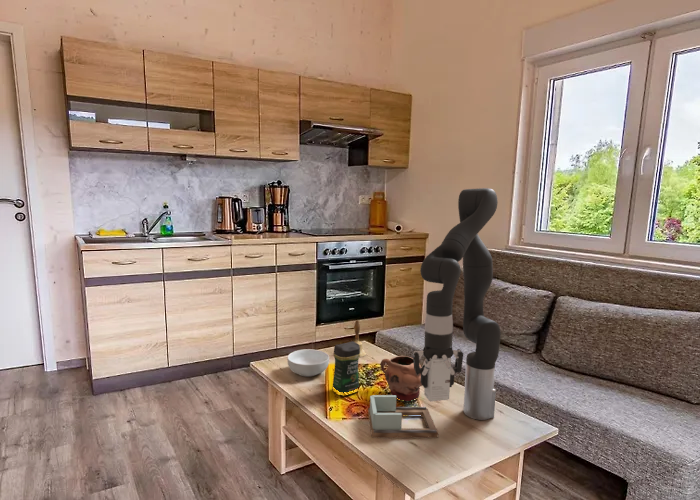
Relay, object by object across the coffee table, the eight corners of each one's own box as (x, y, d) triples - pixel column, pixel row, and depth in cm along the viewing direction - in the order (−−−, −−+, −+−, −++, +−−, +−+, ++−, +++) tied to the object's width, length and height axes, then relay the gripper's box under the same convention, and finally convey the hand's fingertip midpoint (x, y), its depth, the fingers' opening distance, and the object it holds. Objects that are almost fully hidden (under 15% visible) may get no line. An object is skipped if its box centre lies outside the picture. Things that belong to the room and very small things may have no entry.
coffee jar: (341, 399, 153) (342, 349, 150) (329, 390, 159) (329, 342, 157) (362, 392, 159) (364, 344, 156) (350, 384, 165) (351, 338, 163)
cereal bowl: (298, 385, 164) (298, 367, 163) (280, 370, 177) (280, 353, 176) (336, 375, 173) (336, 358, 172) (316, 361, 187) (316, 346, 186)
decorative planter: (369, 392, 158) (370, 356, 156) (387, 382, 168) (388, 348, 166) (416, 410, 146) (417, 371, 144) (433, 398, 155) (435, 361, 153)
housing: (395, 409, 143) (395, 395, 142) (401, 430, 130) (401, 414, 129) (369, 409, 142) (370, 395, 142) (373, 430, 130) (373, 414, 129)
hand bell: (346, 356, 193) (347, 322, 191) (349, 350, 201) (350, 317, 199) (364, 358, 192) (365, 323, 190) (367, 351, 200) (367, 318, 198)
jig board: (427, 412, 144) (427, 406, 144) (437, 437, 130) (438, 431, 129) (368, 412, 144) (368, 406, 143) (371, 437, 129) (372, 431, 129)
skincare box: (429, 402, 118) (431, 360, 116) (423, 394, 122) (424, 354, 121) (450, 399, 119) (451, 358, 118) (443, 392, 124) (444, 352, 122)
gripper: (460, 324, 122) (458, 380, 125) (410, 325, 122) (409, 381, 124) (468, 333, 115) (466, 392, 117) (415, 333, 114) (414, 393, 116)
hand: (436, 386), depth 121 cm, fingers closed on skincare box, 6 cm apart
